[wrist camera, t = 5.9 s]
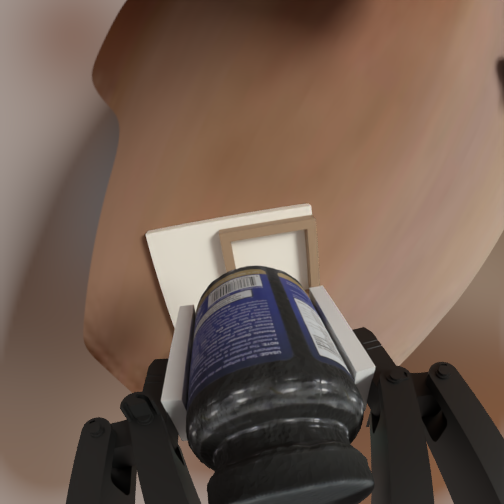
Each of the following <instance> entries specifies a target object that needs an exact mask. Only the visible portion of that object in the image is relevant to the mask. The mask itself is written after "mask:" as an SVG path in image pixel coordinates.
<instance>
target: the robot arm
mask: <svg viewBox="0 0 504 504" xmlns="http://www.w3.org/2000/svg"><path fill="white" fill-rule="evenodd" d="M309 299H310V301H311V302H312V304H313V306H314V308H315V310H316V311H317V313H318V315H319V317H320V319H321V321H322V322H323V324H324V326H325V328H326V330H327V332H328V333H329V335H330V337H331V339H332V341H333V343H334V345H335V346H336V348H337V350H338V352H339V354H340V356H341V357H342V359H343V361H344V363H345V365H346V367H347V369H348V371H349V372H350V374H351V376H352V378H353V380H354V382H355V384H356V386H357V388H358V390H359V392H360V394H361V396H362V399H363V403H364V411H365V409H366V405H367V404H368V405H369V407H370V409H371V411H370V414H369V418H368V421H367V425H366V427H369V424H370V436H371V467H372V476H373V479H374V484H375V485H374V489H373V491H372V498H371V504H434V496H433V486H432V478H431V470H430V463H429V456H428V450H427V444H428V446H429V448H430V450H431V452H432V455H433V457H434V459H435V461H436V463H437V465H438V468H439V470H440V472H441V474H442V477H443V479H444V481H445V484H446V486H447V488H448V491H449V493H450V495H451V498H452V500H453V502H454V504H504V439H503V437H502V435H501V434H500V432H499V430H498V429H497V427H496V426H495V424H494V423H493V421H492V420H491V418H490V417H489V415H488V413H487V412H486V411H485V409H484V407H483V406H482V405H481V403H480V402H479V400H478V399H477V398H476V396H475V394H474V393H473V392H472V390H471V389H470V388H469V386H468V385H467V383H466V382H465V381H464V379H463V378H462V376H461V375H460V374H459V372H458V371H457V370H456V368H455V367H454V366H452V365H451V364H449V363H446V362H438V363H435V364H433V365H432V366H431V367H430V369H429V372H425V373H410V372H409V371H408V370H406V369H405V368H403V367H400V366H396V365H395V363H394V362H393V361H392V359H391V358H390V356H389V355H388V353H387V352H386V351H385V349H384V348H383V346H381V344H380V342H379V341H377V338H376V337H375V335H374V334H373V333H372V332H371V331H369V330H368V329H366V328H365V327H363V328H358V329H354V330H352V329H351V327H350V326H349V324H348V323H347V321H346V320H345V318H344V317H343V315H342V314H341V312H340V311H339V309H338V308H337V306H336V305H335V303H334V302H333V300H332V299H331V297H330V296H329V294H328V293H327V291H326V290H325V288H324V287H323V286H317V287H311V288H309ZM195 315H196V312H195V308H194V305H186V306H180V308H179V312H178V317H177V321H176V326H175V330H174V335H173V340H172V345H171V349H170V354H169V359H155V360H154V361H153V362H152V364H151V365H150V366H149V368H148V372H147V377H146V380H145V384H144V387H143V392H134V393H132V394H129V395H128V396H126V397H125V398H124V399H123V401H122V402H121V405H120V409H121V410H122V412H123V414H124V415H125V417H126V418H127V420H124V421H121V422H117V423H112V424H110V423H109V421H107V420H106V419H104V418H100V417H99V418H93V419H91V420H89V421H88V422H87V423H86V424H84V427H83V429H82V432H81V436H80V440H79V443H78V447H77V451H76V456H75V460H74V465H73V469H72V474H71V479H70V484H69V489H68V495H67V500H66V504H135V491H136V474H137V472H138V477H139V481H140V485H141V489H142V494H143V498H144V501H145V504H201V502H200V499H199V497H198V495H197V492H196V489H195V487H194V484H193V482H192V479H191V476H190V474H189V471H188V468H187V465H186V463H185V460H184V457H183V454H182V451H181V448H180V447H179V445H178V435H179V436H180V438H181V440H182V441H186V440H187V435H186V415H187V403H188V390H189V378H190V364H191V355H192V346H193V336H194V327H195ZM187 441H188V440H187ZM426 442H427V444H426Z"/></svg>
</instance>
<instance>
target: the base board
mask: <svg viewBox="0 0 504 504" xmlns="http://www.w3.org/2000/svg"><path fill="white" fill-rule="evenodd" d="M145 235H146V239H147V242H148V246H149V250H150V253H151V257H152V260H153V264H154V267H155V270H156V274H157V277H158V280H159V283H160V287H161V290H162V293H163V296H164V299H165V302H166V305H167V308H168V311H169V314H170V317H171V320H172V323H173V325H174V328H175V326H176V321H177V317H178V312H179V308H180V306H186V305H194V308H195V312H196V309H197V306H198V303H199V300H200V298H201V296H202V294H203V293H204V291H205V290H206V289H207V287H208V286H209V285H210V283H211V282H212V281H214V280H215V279H217V278H219V277H220V276H221V275H223V274H225V273H227V272H229V271H231V270H234V269H238V268H241V267H245V266H266V267H270V268H274V269H277V270H281V271H284V272H286V273H287V274H289V275H290V276H292V277H293V278H295V279H296V280H297V281H299V283H300V284H301V285H302V287H303V289H304V290H305V292H306V294H307V295H308V297H309V288H311V287H317V286H320V275H319V256H318V241H317V227H316V218H315V217H314V216H313V215H312V211H311V205H309V204H308V203H307V204H300V205H293V206H286V207H280V208H273V209H267V210H261V211H255V212H249V213H243V214H237V215H231V216H225V217H219V218H214V219H208V220H203V221H197V222H192V223H186V224H181V225H176V226H171V227H166V228H160V229H155V230H150V231H148V232H147V233H146V234H145Z"/></svg>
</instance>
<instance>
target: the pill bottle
mask: <svg viewBox="0 0 504 504" xmlns="http://www.w3.org/2000/svg"><path fill="white" fill-rule="evenodd" d="M363 414H364V403H363V399H362V396H361V394H360V392H359V390H358V388H357V386H356V384H355V382H354V380H353V378H352V376H351V374H350V372H349V371H348V369H347V367H346V365H345V363H344V361H343V359H342V357H341V356H340V354H339V352H338V350H337V348H336V346H335V345H334V343H333V341H332V339H331V337H330V335H329V333H328V332H327V330H326V328H325V326H324V324H323V322H322V321H321V319H320V317H319V315H318V313H317V311H316V310H315V308H314V306H313V304H312V302H311V301H310V299H309V297H308V295H307V294H306V292H305V290H304V289H303V287H302V285H301V284H300V283H299V281H297V280H296V279H295V278H293V277H292V276H290V275H289V274H287V273H286V272H284V271H281V270H277V269H274V268H270V267H266V266H245V267H241V268H238V269H234V270H231V271H229V272H227V273H225V274H223V275H221V276H220V277H219V278H217V279H215V280H214V281H212V282H211V283H210V285H209V286H208V287H207V289H206V290H205V291H204V293H203V294H202V296H201V298H200V300H199V303H198V306H197V309H196V315H195V327H194V336H193V346H192V355H191V364H190V378H189V390H188V403H187V415H186V435H187V440H188V443H189V446H190V448H191V449H192V451H193V452H194V454H195V455H196V457H197V458H198V459H199V460H200V461H201V462H202V463H204V464H205V465H206V466H207V467H208V468H211V469H212V470H214V471H215V473H214V475H213V476H212V477H211V478H210V480H209V483H208V485H207V492H208V503H209V504H358V503H360V502H361V501H362V500H364V499H365V498H366V497H368V496H369V495H370V494H371V492H372V491H373V489H374V485H375V484H374V479H373V476H372V473H371V471H370V469H369V466H368V462H367V459H366V457H365V456H363V455H362V453H360V452H359V451H358V450H357V449H355V448H354V447H353V446H351V445H350V444H351V443H352V441H353V440H354V439H355V438H356V436H357V434H358V432H359V430H360V429H361V425H362V421H363Z"/></svg>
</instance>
